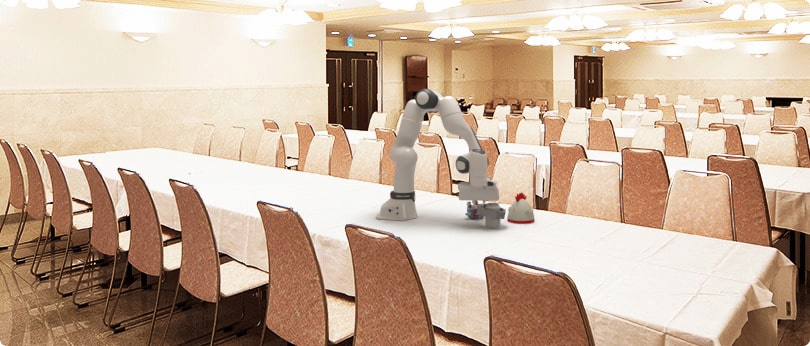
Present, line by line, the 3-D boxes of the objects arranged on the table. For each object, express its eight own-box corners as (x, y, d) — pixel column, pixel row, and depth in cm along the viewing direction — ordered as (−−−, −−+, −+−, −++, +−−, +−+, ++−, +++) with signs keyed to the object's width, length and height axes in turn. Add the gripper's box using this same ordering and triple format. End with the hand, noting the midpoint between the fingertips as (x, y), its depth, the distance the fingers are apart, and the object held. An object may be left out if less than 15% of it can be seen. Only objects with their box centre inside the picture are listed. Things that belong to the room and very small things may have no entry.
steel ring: (476, 214, 321) (477, 207, 321) (477, 208, 335) (478, 202, 334) (504, 220, 320) (505, 213, 319) (504, 214, 333) (505, 207, 333)
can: (489, 224, 333) (489, 201, 331) (502, 226, 329) (502, 202, 327) (482, 227, 327) (482, 204, 325) (496, 229, 323) (496, 205, 321)
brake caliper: (486, 216, 340) (472, 197, 341) (470, 228, 344) (456, 209, 345) (490, 212, 351) (477, 194, 352) (474, 223, 355) (461, 205, 356)
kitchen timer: (501, 221, 340) (501, 192, 338) (519, 216, 349) (519, 189, 347) (522, 225, 330) (522, 196, 328) (539, 221, 339) (540, 192, 336)
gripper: (457, 182, 324) (457, 210, 326) (499, 183, 321) (499, 210, 323) (458, 180, 330) (458, 207, 333) (499, 180, 327) (499, 207, 329)
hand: (478, 209), depth 328 cm, fingers closed on steel ring, 2 cm apart
